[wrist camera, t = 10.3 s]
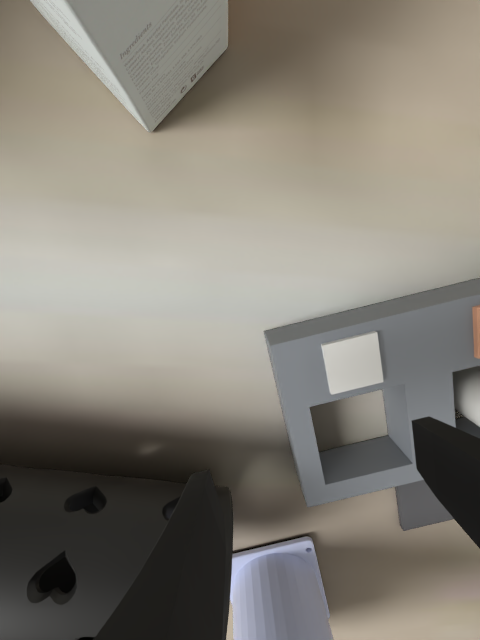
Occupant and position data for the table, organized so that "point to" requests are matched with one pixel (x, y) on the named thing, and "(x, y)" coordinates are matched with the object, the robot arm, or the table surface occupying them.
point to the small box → (143, 46)
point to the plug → (467, 393)
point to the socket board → (375, 383)
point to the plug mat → (419, 506)
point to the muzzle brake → (80, 547)
